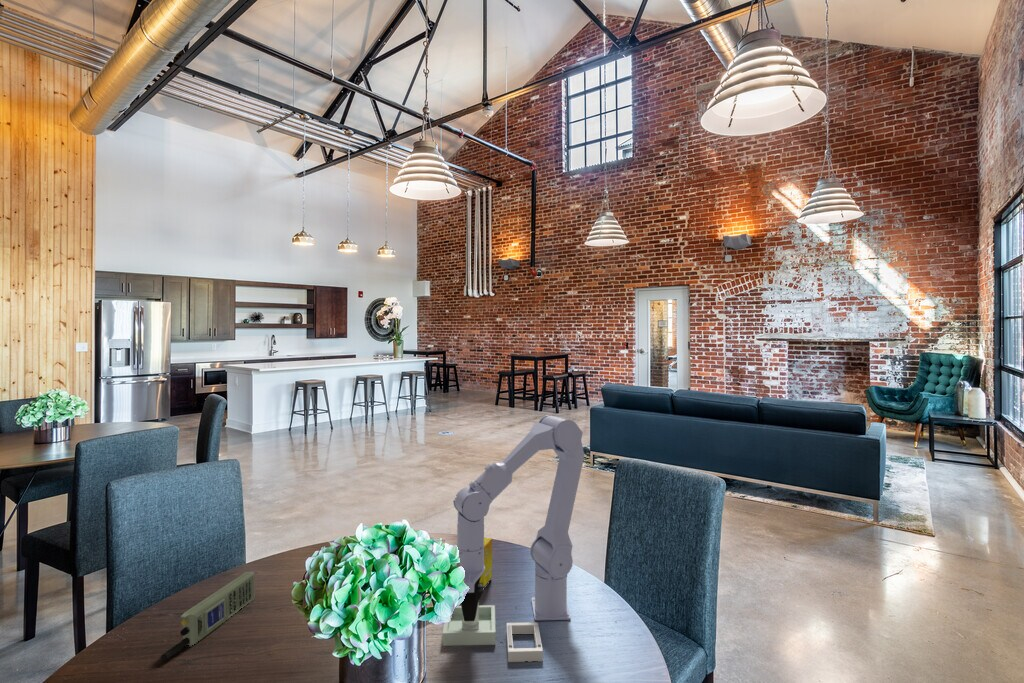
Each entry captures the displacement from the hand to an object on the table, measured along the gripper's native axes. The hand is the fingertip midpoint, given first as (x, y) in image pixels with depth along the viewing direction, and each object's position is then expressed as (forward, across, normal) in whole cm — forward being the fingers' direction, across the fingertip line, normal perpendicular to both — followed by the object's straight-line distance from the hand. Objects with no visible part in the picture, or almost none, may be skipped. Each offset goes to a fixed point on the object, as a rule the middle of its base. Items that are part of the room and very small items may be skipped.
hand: (470, 610), depth 108 cm
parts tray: (+4, 0, 0) cm, 4 cm away
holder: (+4, +6, +11) cm, 13 cm away
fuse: (+4, 0, 0) cm, 4 cm away
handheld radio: (+5, -3, -55) cm, 55 cm away
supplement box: (+4, -21, +1) cm, 22 cm away
